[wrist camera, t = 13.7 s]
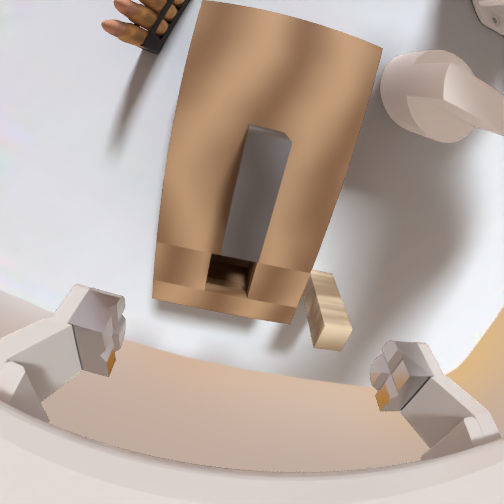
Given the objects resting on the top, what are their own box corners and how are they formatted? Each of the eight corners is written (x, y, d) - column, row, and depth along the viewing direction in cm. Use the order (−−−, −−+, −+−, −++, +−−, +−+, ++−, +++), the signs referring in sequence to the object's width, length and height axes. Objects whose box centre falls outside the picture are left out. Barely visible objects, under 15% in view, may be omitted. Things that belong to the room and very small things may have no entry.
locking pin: (309, 269, 37) (324, 326, 28) (332, 273, 37) (352, 329, 29) (301, 289, 38) (313, 347, 30) (323, 293, 39) (340, 350, 30)
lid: (376, 49, 18) (411, 41, 13) (288, 316, 30) (294, 359, 25) (205, 4, 17) (191, -20, 12) (155, 290, 29) (139, 331, 24)
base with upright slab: (455, 72, 25) (528, 78, 14) (439, 142, 29) (507, 173, 19) (388, 40, 24) (452, 25, 14) (371, 118, 28) (431, 137, 18)
